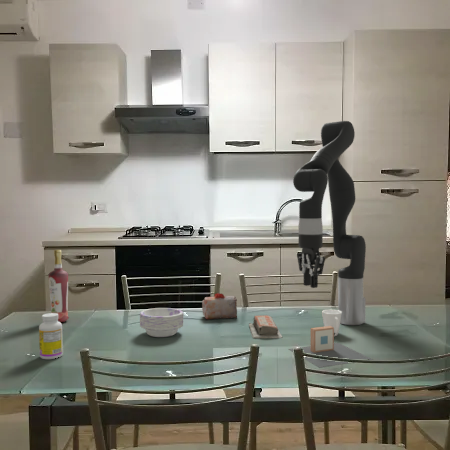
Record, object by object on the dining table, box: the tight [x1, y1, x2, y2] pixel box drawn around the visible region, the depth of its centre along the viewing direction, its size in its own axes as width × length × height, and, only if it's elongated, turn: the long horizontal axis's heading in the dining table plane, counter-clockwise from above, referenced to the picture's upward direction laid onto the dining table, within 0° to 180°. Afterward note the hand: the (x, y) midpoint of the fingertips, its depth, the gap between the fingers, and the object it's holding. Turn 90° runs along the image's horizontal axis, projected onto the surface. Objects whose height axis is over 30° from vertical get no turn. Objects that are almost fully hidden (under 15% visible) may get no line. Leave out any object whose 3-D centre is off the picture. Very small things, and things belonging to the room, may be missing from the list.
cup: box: [321, 308, 342, 337], centre depth 170 cm, size 7×10×8 cm
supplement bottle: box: [38, 312, 64, 360], centre depth 150 cm, size 7×7×13 cm
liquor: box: [48, 249, 70, 324], centre depth 192 cm, size 7×7×28 cm
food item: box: [201, 292, 238, 320], centre depth 198 cm, size 14×8×10 cm, turn 97°
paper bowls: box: [139, 307, 184, 338], centre depth 174 cm, size 15×15×8 cm
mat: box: [288, 342, 374, 369], centre depth 149 cm, size 18×18×1 cm
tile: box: [310, 326, 335, 352], centre depth 152 cm, size 7×2×7 cm, turn 111°
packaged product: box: [248, 314, 283, 339], centre depth 175 cm, size 18×5×10 cm
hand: (310, 286), depth 158 cm, fingers open, 3 cm apart
